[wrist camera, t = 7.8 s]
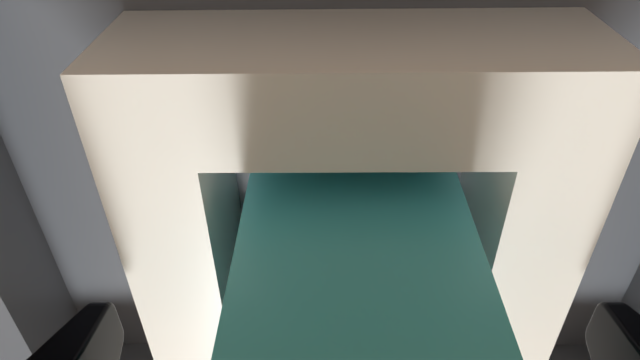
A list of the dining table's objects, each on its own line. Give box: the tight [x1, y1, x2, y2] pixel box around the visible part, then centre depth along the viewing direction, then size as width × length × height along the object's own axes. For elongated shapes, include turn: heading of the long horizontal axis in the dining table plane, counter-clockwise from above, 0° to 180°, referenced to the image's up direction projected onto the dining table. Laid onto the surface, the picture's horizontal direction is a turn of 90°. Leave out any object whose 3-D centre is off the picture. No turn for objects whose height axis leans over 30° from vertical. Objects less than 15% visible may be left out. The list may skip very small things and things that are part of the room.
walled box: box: [0, 0, 640, 360], centre depth 11 cm, size 18×16×3 cm
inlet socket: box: [60, 7, 640, 360], centre depth 12 cm, size 9×9×3 cm
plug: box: [211, 172, 523, 360], centre depth 10 cm, size 4×4×8 cm
